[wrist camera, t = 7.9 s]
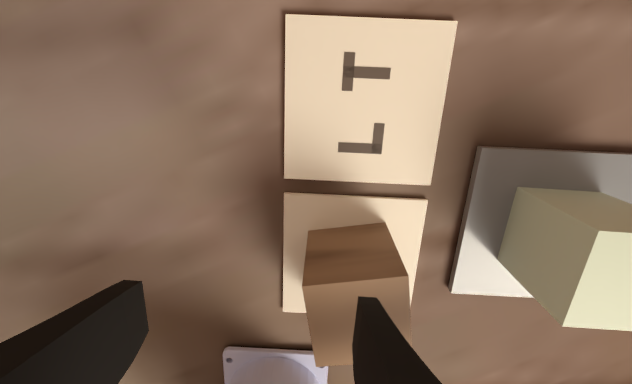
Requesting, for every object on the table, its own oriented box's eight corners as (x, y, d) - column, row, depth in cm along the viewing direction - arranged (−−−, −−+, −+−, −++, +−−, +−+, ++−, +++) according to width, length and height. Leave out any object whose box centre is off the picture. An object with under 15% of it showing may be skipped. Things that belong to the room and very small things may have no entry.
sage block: (574, 264, 21) (668, 333, 15) (497, 259, 21) (562, 326, 15) (600, 192, 19) (718, 238, 13) (517, 186, 19) (598, 230, 13)
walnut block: (389, 287, 22) (412, 359, 16) (318, 294, 22) (316, 367, 17) (385, 222, 20) (408, 275, 15) (308, 230, 21) (301, 286, 15)
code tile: (428, 183, 20) (430, 185, 19) (284, 177, 20) (284, 178, 20) (455, 22, 17) (457, 21, 17) (286, 15, 17) (285, 13, 17)
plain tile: (407, 315, 23) (408, 318, 23) (283, 309, 23) (282, 311, 23) (426, 198, 20) (427, 200, 20) (284, 192, 20) (283, 193, 20)
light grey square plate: (592, 295, 22) (599, 300, 21) (447, 287, 22) (451, 293, 22) (647, 153, 19) (657, 155, 18) (477, 145, 19) (482, 147, 18)
